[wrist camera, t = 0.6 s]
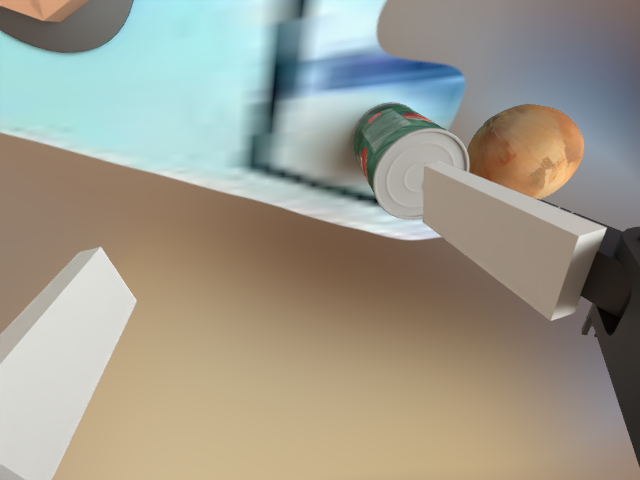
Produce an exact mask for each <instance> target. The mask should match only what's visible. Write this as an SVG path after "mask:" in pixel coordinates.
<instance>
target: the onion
mask: <svg viewBox="0 0 640 480" xmlns="http://www.w3.org/2000/svg"><path fill="white" fill-rule="evenodd" d="M467 152H468V156H469V166H470V167H469V173H471V174H474V175H476V176H479V177H481V178H484V179H486V180H489V181H491V182H494V183H496V184H499V185H501V186H504V187H506V188H509V189H511V190H514V191H516V192H519V193H521V194H524V195H526V196H529V197H531V198H534V199H541V198H544V197H546V196H548V195H550V194H552V193H553V192H555V191H556V190H557V189H559V188H560V187H561V186H562V185H563V184H565V183H566V182H567V181H568V180H569V179H570V178H571V176H572V175H573V174H574V172H575V171H576V169H577V168H578V166H579V164H580V161H581V159H582V156H583V152H584V140H583V137H582V135H581V133H580V131H579V129H578V127H577V126H576V124H575V123H574V122H573V121H572V120H571V119H570V118H569V117H568V116H567V115H565V114H564V113H562V112H561V111H559V110H556V109H554V108H550V107H545V106H540V105H532V104H525V105H520V106H515V107H512V108H510V109H507V110H505V111H503V112H501V113H499V114H497V115H495V116H493V117H491V118H490V119H489V120H487V121H486V122H485V123H484V125H483V126H482V127H481V128H480V129H479V130H478V131H477V133H476V134H475V135H474V137H473V139H472V141H471V142H470V144H469V147H468V150H467Z"/></svg>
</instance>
